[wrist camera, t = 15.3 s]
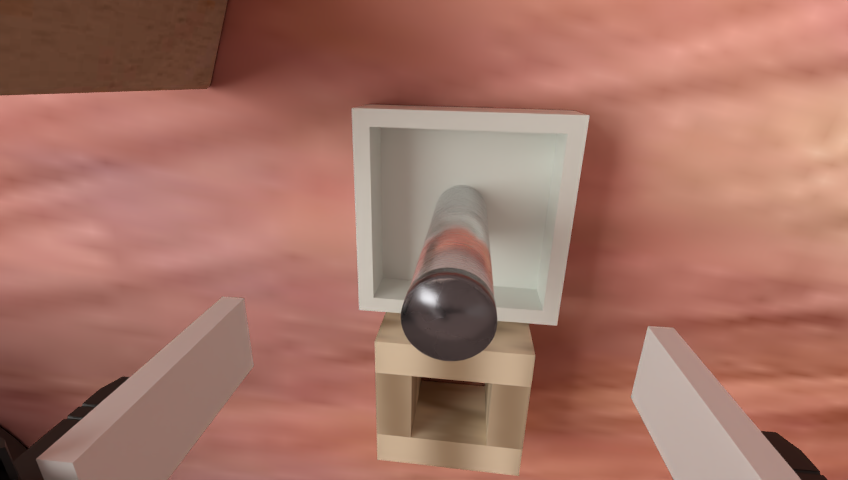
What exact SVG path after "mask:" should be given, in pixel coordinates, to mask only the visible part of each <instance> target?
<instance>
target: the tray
mask: <svg viewBox="0 0 848 480" xmlns="http://www.w3.org/2000/svg"><path fill="white" fill-rule="evenodd" d="M589 117H590V115H587V114H584V113H581V112H577V111H574V110H546V109H512V108H479V107H446V106H412V105H379V104H367V105H363V106H358V107H354V108H352V133H353V160H354V186H355V213H356V240H357V267H358V294H359V310H367V311H380V312H392V313H401V310H402V306H403V302H404V299H405V296H406V294H407V291H408V289H409V288H410V285H411V282H412V279H413V276H414V273H415V269H416V266H417V263H418V260H419V257H420V254H421V251H422V248H423V244H424V241H425V238H426V235H427V232H428V229H429V226H430V223H431V219H432V216H433V213H434V210H435V207H436V204H437V201H438V199H439V197H440V196H441V194H442V193H443V192H444V191H446V190H447V189H449V188H451V187H453V186H458V185H464V186H469V187H472V188H474V189H476V190H477V191H478V192H479V193H480V194H481V195H482V196H483V198H484V200H485V202H486V206H487V217H488V229H489V241H490V253H491V265H492V277H493V289H494V298H495V302H496V309H497V321H505V322H518V323H530V324H543V325H555V326H557V322H558V316H559V309H560V303H561V297H562V290H563V284H564V277H565V271H566V264H567V258H568V252H569V245H570V239H571V232H572V226H573V219H574V213H575V207H576V200H577V194H578V187H579V181H580V175H581V168H582V162H583V155H584V149H585V142H586V136H587V130H588V123H589Z"/></svg>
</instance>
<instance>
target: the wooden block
mask: <svg viewBox="0 0 848 480" xmlns="http://www.w3.org/2000/svg"><path fill="white" fill-rule="evenodd" d="M227 2H228V0H0V95H27V94H58V93H89V92H120V91H151V90H182V89H207V88H208V87H209V85H210V84H211V80H212V75H213V70H214V65H215V60H216V55H217V50H218V46H219V41H220V36H221V31H222V26H223V21H224V16H225V12H226V7H227Z"/></svg>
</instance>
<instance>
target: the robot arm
mask: <svg viewBox="0 0 848 480" xmlns="http://www.w3.org/2000/svg"><path fill="white" fill-rule="evenodd" d="M253 366H254V364H253V357H252V350H251V343H250V336H249V329H248V322H247V315H246V308H245V301H244V298H236V297H221V298H220V299H219V300H218V301H217V302H216V303H215V304H213V305H212V306H211V307H210V308H209V309H208V310H207V311H205V312H204V313H203V314H202V315H201V316H200V317H198V318H197V319H196V320H195V321H194V322H193V323H192V324H190V325H189V326H188V327H187V328H186V329H185V330H184V331H182V332H181V333H180V334H179V335H178V336H177V337H176V338H174V339H173V340H172V341H171V342H170V343H169V344H167V345H166V346H165V347H164V348H163V349H162V350H161V351H159V352H158V353H157V354H156V355H155V356H154V357H153V358H151V359H150V360H149V361H148V362H147V363H146V364H145V365H143V366H142V367H141V368H140V369H139V370H138V371H136V372H135V373H134V374H133V375H132V376H131V377H121V378H119V379H118V380H116V381H114V382H112V383H110V384H108V385H106V386H105V387H103V388H101V389H100V390H98V391H97V392H96V393H95V394H94V395H92V396H91V397H90V398H89V399H88V400H86V401H85V402H84V403H83V405H82V407H78V408H77V409H76V410H74V411H73V412H72V413H71V414H70V415H68V418H67V419H64V420H62V421H61V422H60V423H59V424H58V425H56V426H55V427H54V428H53V429H52V430H50V431H49V432H48V433H47V434H45V435H44V436H43V437H42V438H41V439H39V440H38V441H37V442H36V443H35V444H33V445H32V446H31V447H30V448H29V449H26V448H25V447H24V446H23V445H22V444H21V443H20V442H19V441H18V440H16V439H15V438H14V437H13V436H12V435H10V434H9V433H8V432H6V431H5V430H3V429H2V428H0V480H168V479H169V478H170V476H171V475H172V474H173V472H174V471H175V470H176V468H177V467H178V466H179V464H180V463H181V462H182V460H183V459H184V458H185V456H186V455H187V454H188V452H189V451H190V450H191V448H192V447H193V446H194V444H195V443H196V442H197V441H198V439H199V438H200V437H201V435H202V434H203V433H204V431H205V430H206V429H207V427H208V426H209V425H210V423H211V422H212V421H213V419H214V418H215V417H216V415H217V414H218V413H219V411H220V410H221V409H222V407H223V406H224V405H225V403H226V402H227V401H228V400H229V398H230V397H231V396H232V394H233V393H234V392H235V390H236V389H237V388H238V386H239V385H240V384H241V382H242V381H243V380H244V378H245V377H246V376H247V374H248V373H249V372H250V370H251V369H252V368H253ZM631 399H632V400H633V402H634V404H635V406H636V408H637V410H638V412H639V414H640V416H641V418H642V420H643V422H644V424H645V426H646V427H647V429H648V431H649V433H650V435H651V437H652V439H653V441H654V443H655V445H656V447H657V449H658V451H659V453H660V454H661V456H662V458H663V460H664V462H665V464H666V466H667V468H668V470H669V472H670V474H671V476H672V478H673V480H827V479H826V478H825V477H824V475H820V471H819V470H818V469H817V468H816V467H815V466H814V464H813V463H812V462H811V461H810V460H809V459H808V458H807V457H806V456H805V454H804V453H803V452H802V451H801V450H799V449H798V448H797V447H795V446H794V445H793V444H791V443H790V442H788V441H787V440H786V439H784V438H783V437H782V436H780V435H779V434H778V433H776V432H765V431H760V430H759V429H758V428H757V426H756V425H755V424H754V423H753V422H752V420H751V419H750V418H749V417H748V416H747V415H746V413H745V412H744V411H743V410H742V409H741V407H740V406H739V405H738V404H737V403H736V401H735V400H734V399H733V398H732V397H731V395H730V394H729V393H728V392H727V391H726V390H725V388H724V387H723V386H722V385H721V384H720V382H719V381H718V380H717V379H716V378H715V376H714V375H713V374H712V373H711V372H710V371H709V369H708V368H707V367H706V366H705V365H704V363H703V362H702V361H701V360H700V359H699V357H698V356H697V355H696V354H695V353H694V351H693V350H692V349H691V348H690V347H689V346H688V344H687V343H686V342H685V341H684V340H683V338H682V337H681V336H680V335H679V334H678V332H677V331H676V330H675V329H674V328H669V327H655V326H648V328H647V332H646V336H645V341H644V345H643V349H642V353H641V357H640V361H639V365H638V370H637V374H636V378H635V382H634V386H633V390H632V395H631Z"/></svg>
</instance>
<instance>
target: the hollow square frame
mask: <svg viewBox="0 0 848 480" xmlns="http://www.w3.org/2000/svg"><path fill="white" fill-rule="evenodd" d="M534 362H535V351H534V346H533V342H532V337H531V333H530V328H529V323H518V322H505V321H497V329H496V333H495V336H494V338H493V339H492V341H491V343H490V344H489V345H488V346H487V347H486V348H485V349H484V350H483V351H482V352H481V353H479V354H477V355H476V356H473V357H471V358H468V359H465V360H460V361H442V360H438V359H434V358H431V357H429V356H427V355H425V354H423V353H421V352H420V351H418V350H417V349H416V348H415V347H414V346H413V345H412V344H411V343H410V342H409V340H408V339H407V337H406V336H405V334H404V331H403V329H402V325H401V313H392V312H386V314H385V316H384V319H383V321H382V324H381V326H380V329H379V332H378V334H377V337H376V339H375V379H376V422H377V460H385V461H394V462H402V463H411V464H420V465H429V466H437V467H446V468H455V469H463V470H472V471H481V472H489V473H498V474H507V475H515V476H519V470H520V463H521V456H522V449H523V441H524V434H525V427H526V420H527V413H528V405H529V398H530V391H531V384H532V377H533V369H534ZM421 377H427V378H438V379H449V380H459V381H470V382H480V383H485V386H475V385H465V384H454V383H444V382H433V381H423V380H421Z"/></svg>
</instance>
